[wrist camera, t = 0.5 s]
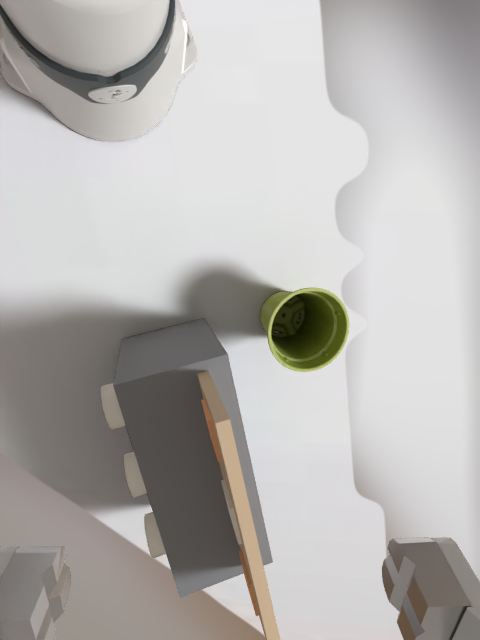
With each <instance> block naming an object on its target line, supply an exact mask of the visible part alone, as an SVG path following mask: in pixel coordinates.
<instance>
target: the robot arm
mask: <svg viewBox="0 0 480 640" xmlns="http://www.w3.org/2000/svg"><path fill="white" fill-rule="evenodd" d="M196 61H197V48H196V45H195V42H194V39H193V37H192V34H191V31H190V29H189V26H188V23H187V21H186V18H185V15H184V12H183V10H182V7H181V4H180V2H179V0H0V63H1V70H2V74H3V76H4V78H5V80H6V82H7V83H8V84H9V85H10V86H11V87H12V88H13V89H15V90H17V91H18V92H20V93H22V94H24V95H26V96H29V97H31V98H33V99H35V100H38V101H39V102H40V103H42V104H43V105H44V106H45V107H46V108H47V109H48V110H49V111H50V112H51V113H52V114H53V115H54V116H55V117H56V118H57V119H59V120H60V121H61V122H62V123H63V124H65V125H66V126H68V127H69V128H70V129H72V130H74V131H75V132H77V133H79V134H81V135H84V136H86V137H89V138H92V139H95V140H100V141H107V142H121V141H127V140H131V139H135V138H137V137H140V136H142V135H144V134H146V133H147V132H149V131H150V130H152V129H153V128H154V127H155V126H157V125H158V124H159V123H160V121H161V120H162V119H163V118H164V116H165V115H166V114H167V112H168V110H169V108H170V106H171V104H172V102H173V99H174V96H175V93H176V90H177V88H178V85H179V83H180V81H181V80H182V79H183V78H184V77H185V76H186V75H187V74H188V73H189V72H190V71H191V69H192V68H193V67H194V65H195V64H196ZM388 550H389V553H390V555H389V556H388V557H387V558H385V559H384V562H383V566H382V578H383V584H384V588H385V592H386V594H387V597H388V600H389V602H390V603H391V604H392V605H393V606H394V607H395V608H396V609H397V610H398V611H399V614H398V619H397V623H398V626H399V629H400V631H401V634H402V636H403V639H404V640H480V581H479V579H478V578H477V576H476V575H475V573H474V571H473V570H472V568H471V566H470V565H469V563H468V562H467V560H466V558H465V557H464V555H463V553H462V552H461V550H460V549H459V547H458V545H457V544H456V542H455V541H454V540H452V539H451V538H448V537H441V538H429V537H423V538H400V539H392V540H391V541H390V542H389V545H388ZM66 557H67V553H66V549H65V546H28V547H27V546H9V547H8V546H7V547H0V640H55V637H56V630H55V626H54V622H55V621H56V620H57V619H58V618H59V617H60V616H61V614H62V613H63V612H64V610H65V606H66V603H67V600H68V596H69V590H70V585H71V572H70V567H68V566H67V565H66V564H65V563H64V562H65V560H66Z"/></svg>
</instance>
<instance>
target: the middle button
mask: <svg viewBox="0 0 480 640" xmlns="http://www.w3.org/2000/svg"><path fill="white" fill-rule="evenodd" d="M124 468H125V475H126V480H127V484H128V487H129V490H130V493H131V495H132V497H137V496H140V495H143V494H146V493H147V491H146V488H145V485H144V482H143V479H142V476H141V472H140V469H139V466H138V463H137V460H136V457H135V453H134V451H133V452H130V453H126V454H125V455H124Z"/></svg>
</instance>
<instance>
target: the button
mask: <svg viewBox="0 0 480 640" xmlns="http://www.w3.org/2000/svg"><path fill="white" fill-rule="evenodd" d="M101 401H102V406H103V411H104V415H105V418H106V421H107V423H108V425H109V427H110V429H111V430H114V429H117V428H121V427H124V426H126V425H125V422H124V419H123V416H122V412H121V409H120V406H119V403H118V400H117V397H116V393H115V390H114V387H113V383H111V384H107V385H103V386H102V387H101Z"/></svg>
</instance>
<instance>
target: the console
mask: <svg viewBox="0 0 480 640" xmlns="http://www.w3.org/2000/svg"><path fill="white" fill-rule="evenodd" d="M113 387H114V390H115V393H116V397H117V400H118V403H119V406H120V409H121V412H122V416H123V419H124V422H125V425H126V428H127V431H128V435H129V438H130V441H131V444H132V447H133V450H134V453H135V457H136V460H137V463H138V466H139V469H140V472H141V476H142V479H143V482H144V485H145V488H146V491H147V495H148V498H149V501H150V504H151V507H152V510H153V513H154V517H155V520H156V523H157V526H158V529H159V532H160V536H161V539H162V542H163V545H164V548H165V551H166V555H167V558H168V561H169V564H170V567H171V570H172V573H173V577H174V580H175V582H176V586H177V589H178V592H179V596H180V597H183V596H186V595H188V594H191V593H194V592H196V591H199V590H201V589H204V588H207V587H209V586H212V585H214V584H217V583H220V582H222V581H225V580H227V579H230V578H233V577H235V576H238V575H240V574H243V573H244V575H245V579H246V583H247V586H248V590H249V593H250V597H251V600H252V603H253V607H254V610H255V614H256V616H258V615H259V617H260V620H261V624H262V627H263V630H264V634H265V637H266V640H280V637H279V633H278V628H277V624H276V620H275V615H274V611H273V606H272V602H271V598H270V593H269V589H268V585H267V580H266V576H265V571H264V567H263V566H264V565H266V564H269V563H272V562H273V561H272V556H271V551H270V547H269V542H268V538H267V533H266V528H265V524H264V519H263V515H262V510H261V505H260V501H259V496H258V492H257V487H256V482H255V478H254V473H253V469H252V464H251V459H250V455H249V450H248V446H247V441H246V436H245V432H244V427H243V423H242V418H241V413H240V409H239V404H238V400H237V395H236V390H235V386H234V381H233V377H232V372H231V367H230V363H229V358H228V354H227V352H226V351H225V349H224V348H223V346H222V345H221V343H220V342H219V340H218V339H217V337H216V336H215V334H214V333H213V331H212V330H211V328H210V327H209V325H208V324H207V322H206V321H205V319H204V318H203V319H199V320H195V321H191V322H187V323H183V324H179V325H175V326H171V327H167V328H163V329H159V330H155V331H151V332H147V333H143V334H140V335H136V336H132V337H128V338H124V339H122V341H121V346H120V352H119V357H118V362H117V367H116V372H115V378H114V383H113Z"/></svg>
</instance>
